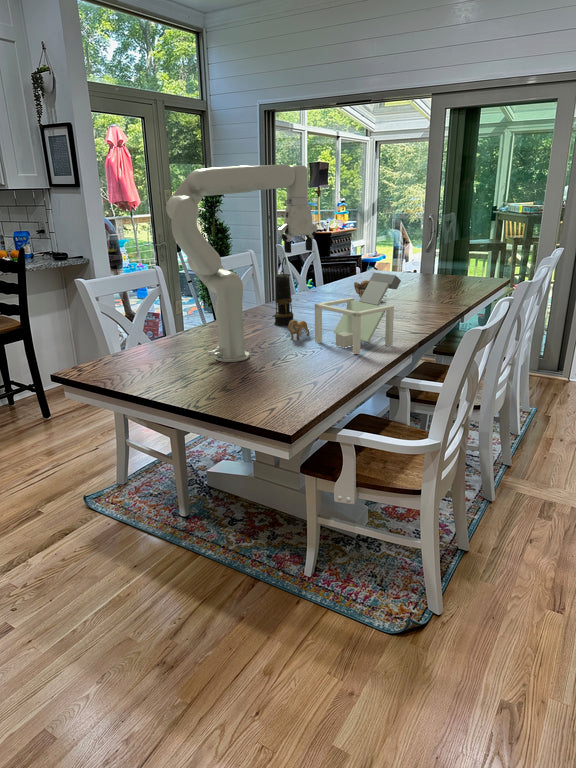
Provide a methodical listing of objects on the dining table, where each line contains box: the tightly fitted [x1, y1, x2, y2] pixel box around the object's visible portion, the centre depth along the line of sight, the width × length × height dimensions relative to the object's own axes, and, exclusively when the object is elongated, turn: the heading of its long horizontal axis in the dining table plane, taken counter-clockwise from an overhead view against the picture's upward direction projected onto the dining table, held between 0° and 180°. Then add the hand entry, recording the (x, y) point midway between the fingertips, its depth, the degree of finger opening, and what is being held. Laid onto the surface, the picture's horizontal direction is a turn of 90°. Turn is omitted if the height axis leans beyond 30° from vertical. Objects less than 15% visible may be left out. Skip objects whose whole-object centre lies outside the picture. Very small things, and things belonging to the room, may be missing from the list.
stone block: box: [335, 332, 353, 349], centre depth 209 cm, size 5×5×5 cm
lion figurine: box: [287, 319, 310, 341], centre depth 222 cm, size 15×5×9 cm, turn 156°
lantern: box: [271, 257, 295, 327], centre depth 243 cm, size 9×9×30 cm
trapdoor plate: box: [333, 271, 402, 343], centre depth 212 cm, size 29×19×4 cm
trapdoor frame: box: [314, 297, 395, 355], centre depth 209 cm, size 19×24×16 cm
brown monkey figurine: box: [353, 280, 387, 299], centre depth 292 cm, size 13×16×15 cm
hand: (298, 251), depth 199 cm, fingers open, 9 cm apart
